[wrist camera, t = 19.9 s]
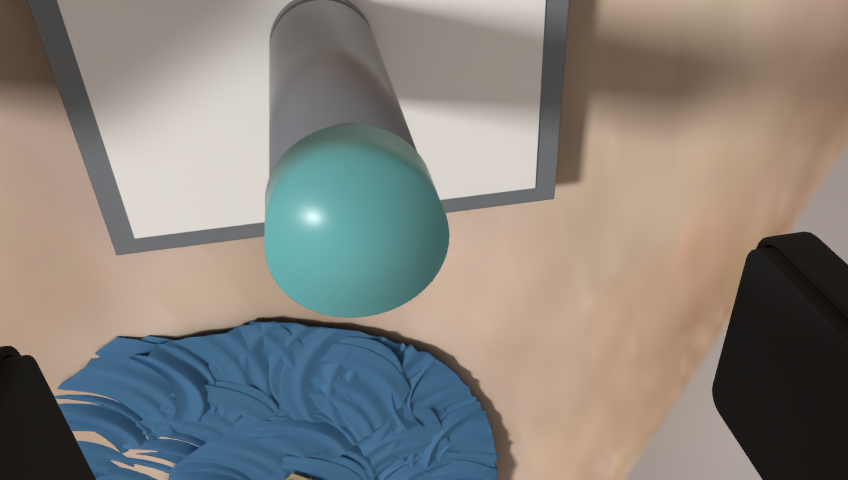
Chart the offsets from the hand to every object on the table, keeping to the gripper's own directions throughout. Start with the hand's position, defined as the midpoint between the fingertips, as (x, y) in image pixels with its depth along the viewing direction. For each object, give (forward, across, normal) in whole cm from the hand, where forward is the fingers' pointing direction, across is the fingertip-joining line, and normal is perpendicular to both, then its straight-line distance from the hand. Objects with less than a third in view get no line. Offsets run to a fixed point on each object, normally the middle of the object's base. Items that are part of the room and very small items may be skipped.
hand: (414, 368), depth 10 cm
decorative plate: (+23, +8, +32) cm, 40 cm away
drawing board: (+22, +1, +5) cm, 23 cm away
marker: (+20, +1, +3) cm, 21 cm away
